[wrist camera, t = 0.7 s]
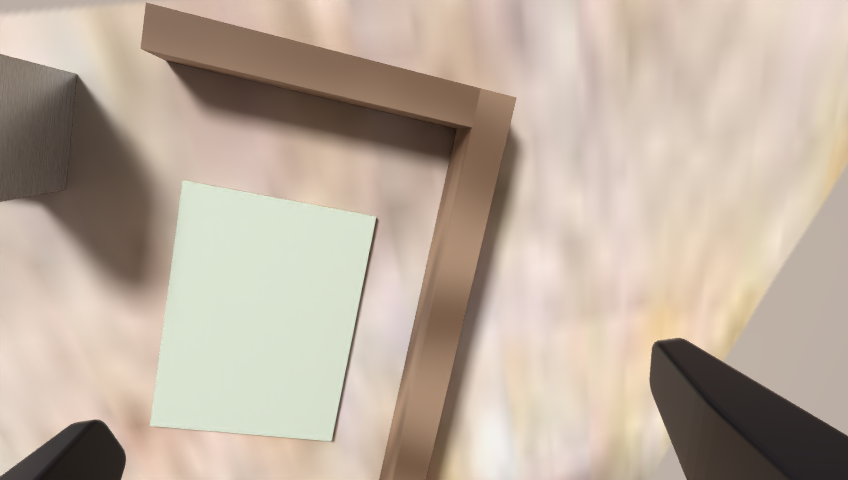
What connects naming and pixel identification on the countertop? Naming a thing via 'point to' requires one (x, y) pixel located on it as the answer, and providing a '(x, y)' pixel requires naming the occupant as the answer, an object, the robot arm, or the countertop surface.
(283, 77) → the brown chevron piece
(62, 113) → the bracket
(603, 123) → the countertop surface
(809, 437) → the robot arm
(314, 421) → the mat
